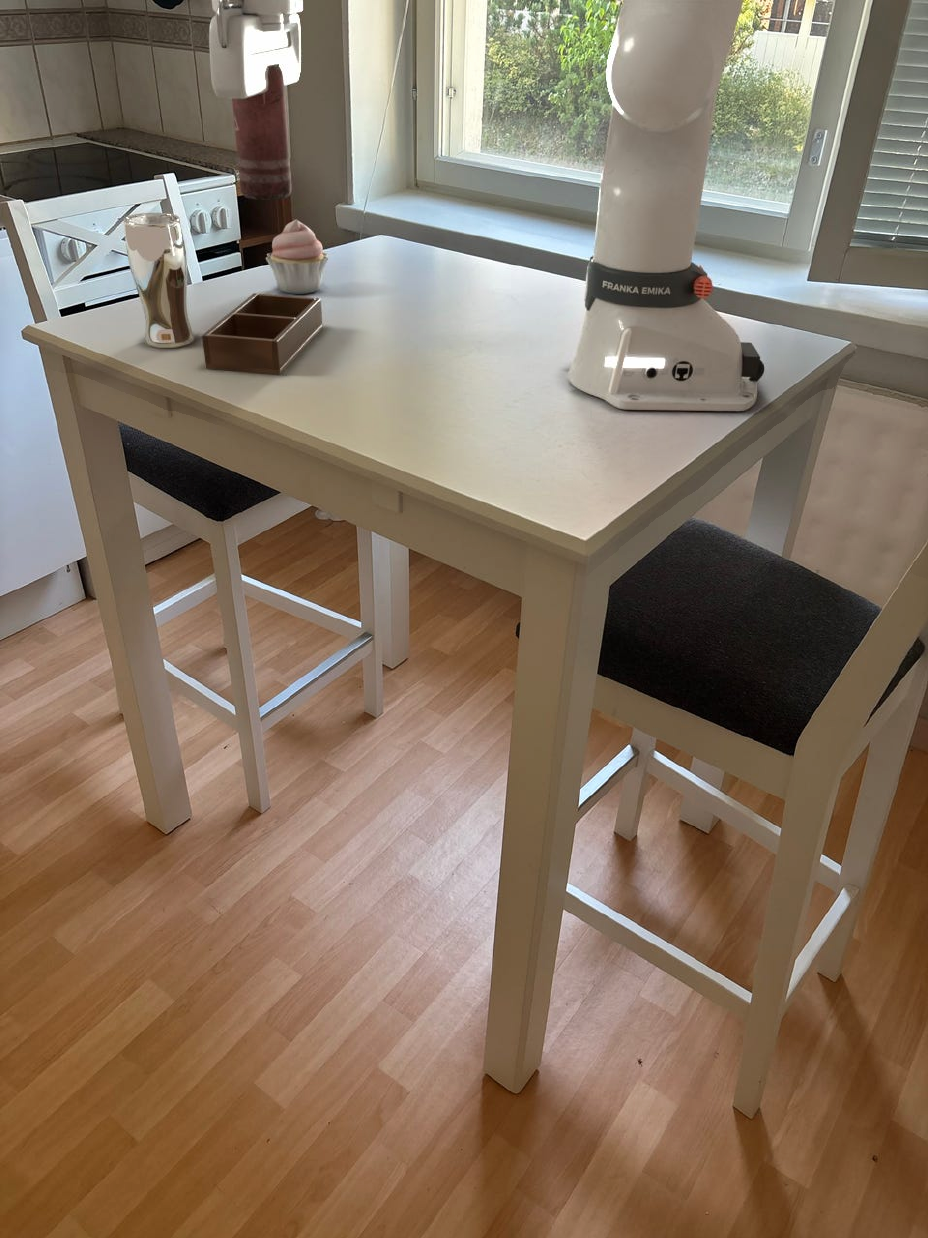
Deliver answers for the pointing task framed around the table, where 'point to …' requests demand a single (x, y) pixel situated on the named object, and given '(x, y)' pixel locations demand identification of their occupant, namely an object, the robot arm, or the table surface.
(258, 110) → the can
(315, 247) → the cupcake
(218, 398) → the table surface
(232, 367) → the tray
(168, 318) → the beer glass
